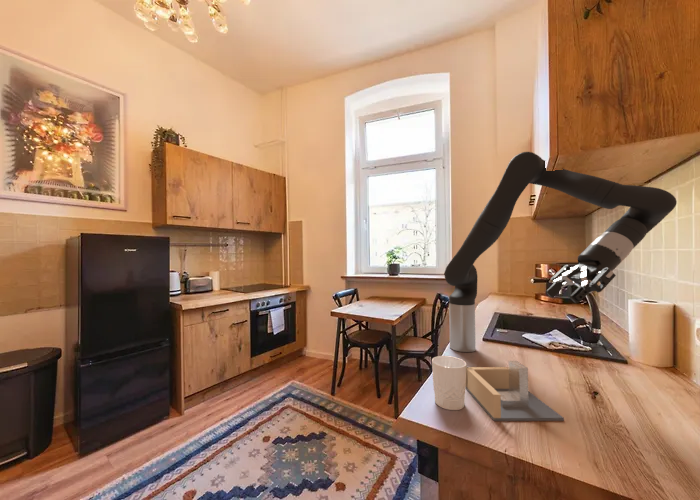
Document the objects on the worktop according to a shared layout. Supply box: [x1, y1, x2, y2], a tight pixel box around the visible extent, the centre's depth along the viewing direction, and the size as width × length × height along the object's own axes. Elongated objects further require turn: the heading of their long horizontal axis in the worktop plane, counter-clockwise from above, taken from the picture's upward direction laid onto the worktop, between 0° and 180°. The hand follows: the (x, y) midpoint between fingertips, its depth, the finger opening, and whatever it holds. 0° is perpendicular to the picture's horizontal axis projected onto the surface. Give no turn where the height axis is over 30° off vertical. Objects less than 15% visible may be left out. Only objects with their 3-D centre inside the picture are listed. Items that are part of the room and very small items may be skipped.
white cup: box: [431, 355, 467, 411], centre depth 68 cm, size 8×8×10 cm
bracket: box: [498, 360, 529, 407], centre depth 67 cm, size 4×6×9 cm
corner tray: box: [465, 366, 565, 422], centre depth 68 cm, size 15×15×6 cm
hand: (560, 297), depth 73 cm, fingers open, 8 cm apart
